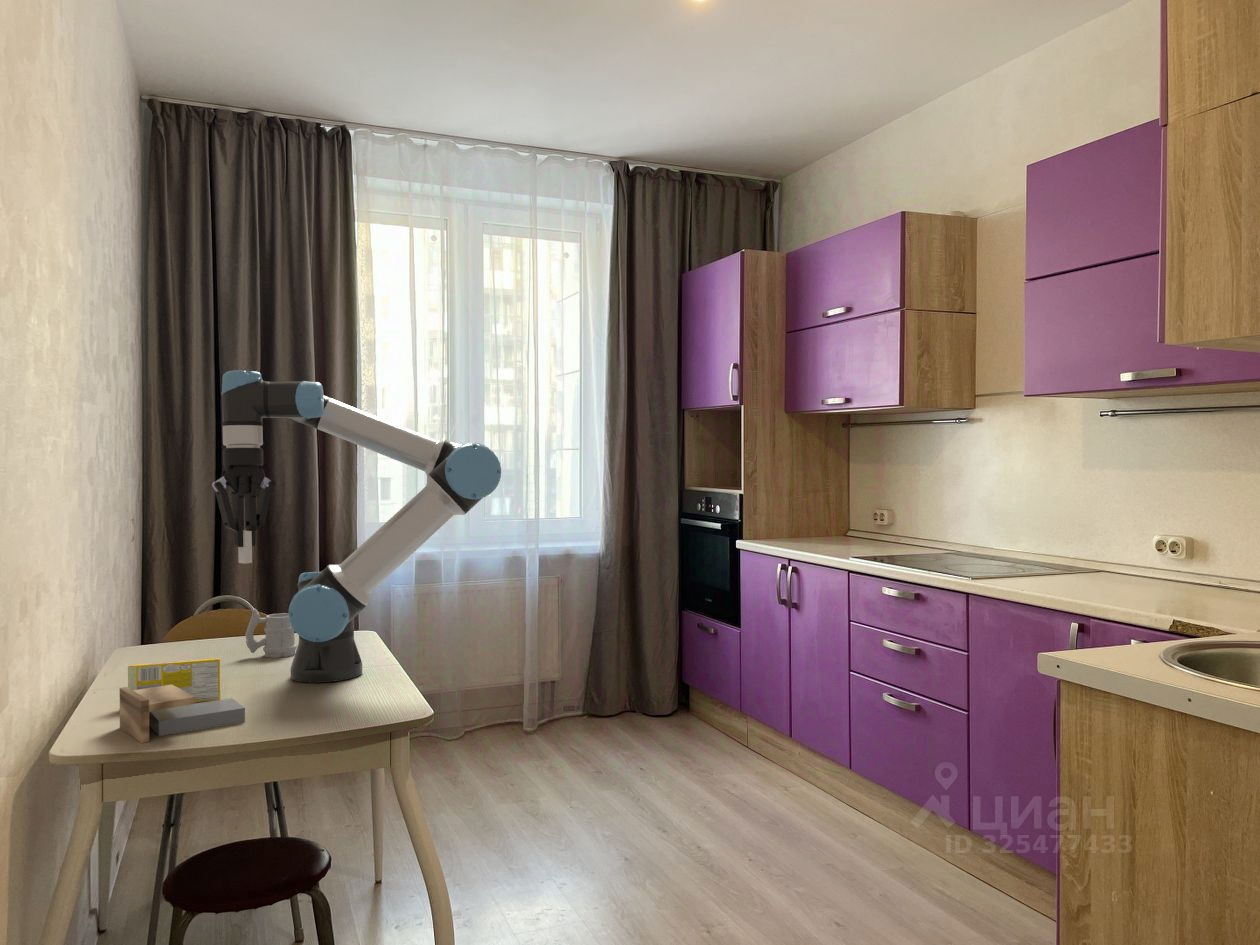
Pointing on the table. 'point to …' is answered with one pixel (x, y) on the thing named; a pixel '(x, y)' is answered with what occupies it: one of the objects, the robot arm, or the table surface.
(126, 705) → the shelf
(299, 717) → the table surface
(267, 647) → the mug
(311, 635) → the robot arm
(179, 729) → the gray block
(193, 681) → the candy box
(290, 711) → the table surface
